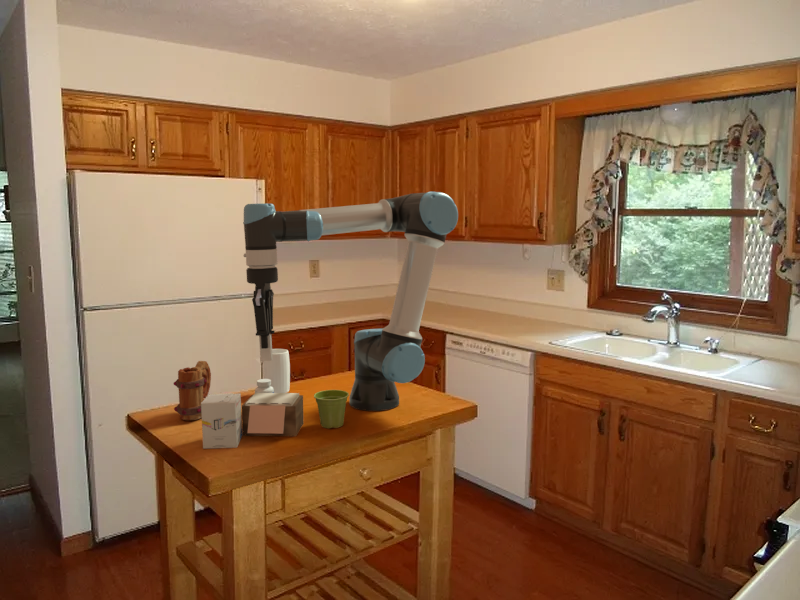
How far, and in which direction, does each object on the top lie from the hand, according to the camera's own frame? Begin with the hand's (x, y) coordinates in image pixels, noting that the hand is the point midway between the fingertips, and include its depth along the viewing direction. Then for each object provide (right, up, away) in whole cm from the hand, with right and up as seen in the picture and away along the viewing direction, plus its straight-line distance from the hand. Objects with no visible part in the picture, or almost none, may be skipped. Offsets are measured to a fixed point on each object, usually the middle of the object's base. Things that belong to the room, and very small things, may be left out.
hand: (266, 360), depth 155 cm
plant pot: (+15, -19, +13) cm, 28 cm away
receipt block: (0, -19, +10) cm, 22 cm away
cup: (-6, -15, +43) cm, 46 cm away
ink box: (-11, -21, 0) cm, 24 cm away
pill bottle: (-6, -18, +24) cm, 30 cm away
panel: (0, -15, +2) cm, 16 cm away
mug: (-25, -18, +21) cm, 37 cm away
